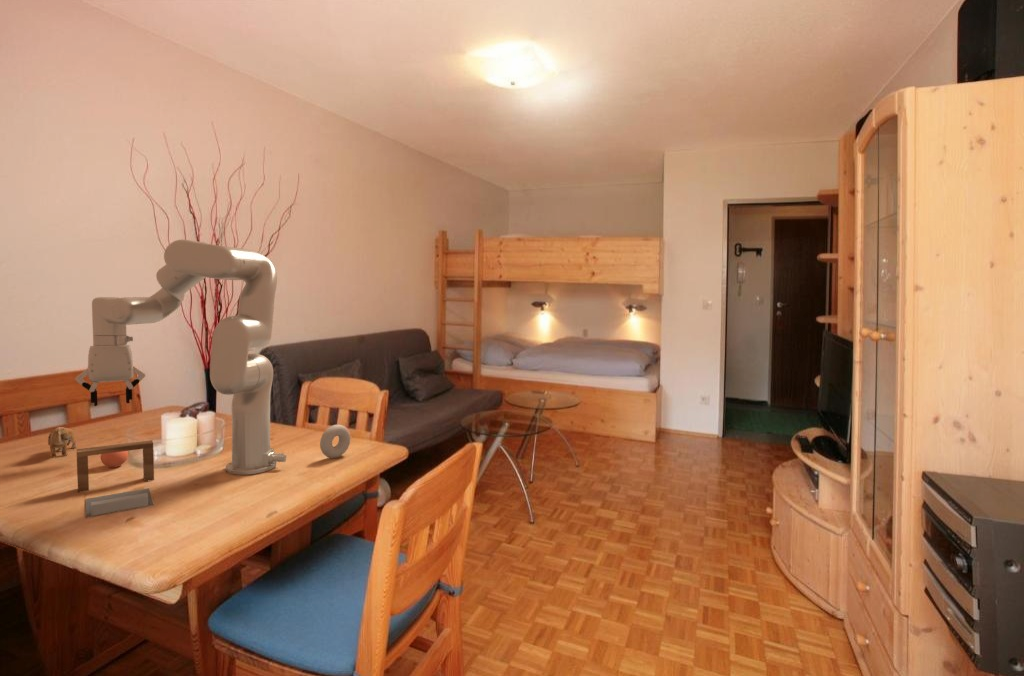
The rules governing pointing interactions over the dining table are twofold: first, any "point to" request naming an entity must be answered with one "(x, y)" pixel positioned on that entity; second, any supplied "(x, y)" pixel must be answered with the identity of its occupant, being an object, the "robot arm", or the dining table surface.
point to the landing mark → (95, 499)
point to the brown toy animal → (60, 440)
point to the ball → (114, 458)
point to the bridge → (85, 452)
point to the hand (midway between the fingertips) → (112, 403)
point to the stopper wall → (119, 504)
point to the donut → (328, 438)
